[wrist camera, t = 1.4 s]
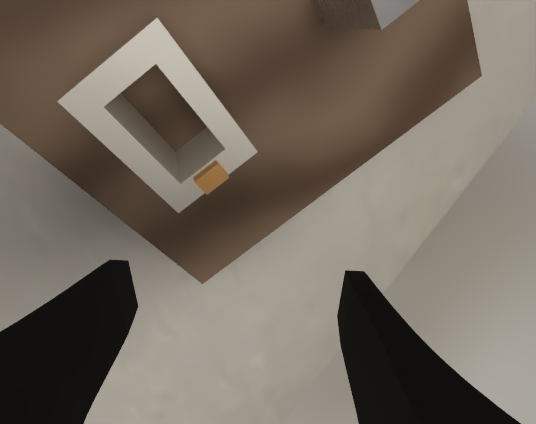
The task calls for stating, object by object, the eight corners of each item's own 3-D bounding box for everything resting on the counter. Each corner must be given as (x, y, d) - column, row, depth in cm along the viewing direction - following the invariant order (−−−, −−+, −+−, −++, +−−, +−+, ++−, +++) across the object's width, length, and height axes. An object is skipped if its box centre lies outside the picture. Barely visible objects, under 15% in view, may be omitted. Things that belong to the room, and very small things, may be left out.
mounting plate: (-97, 28, 13) (-118, 30, 12) (362, -389, 11) (383, -428, 10) (200, 272, 23) (202, 283, 22) (466, 72, 21) (481, 75, 20)
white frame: (79, 81, 14) (53, 104, 11) (156, 16, 14) (157, 17, 10) (173, 176, 18) (179, 219, 14) (238, 126, 18) (260, 155, 14)
